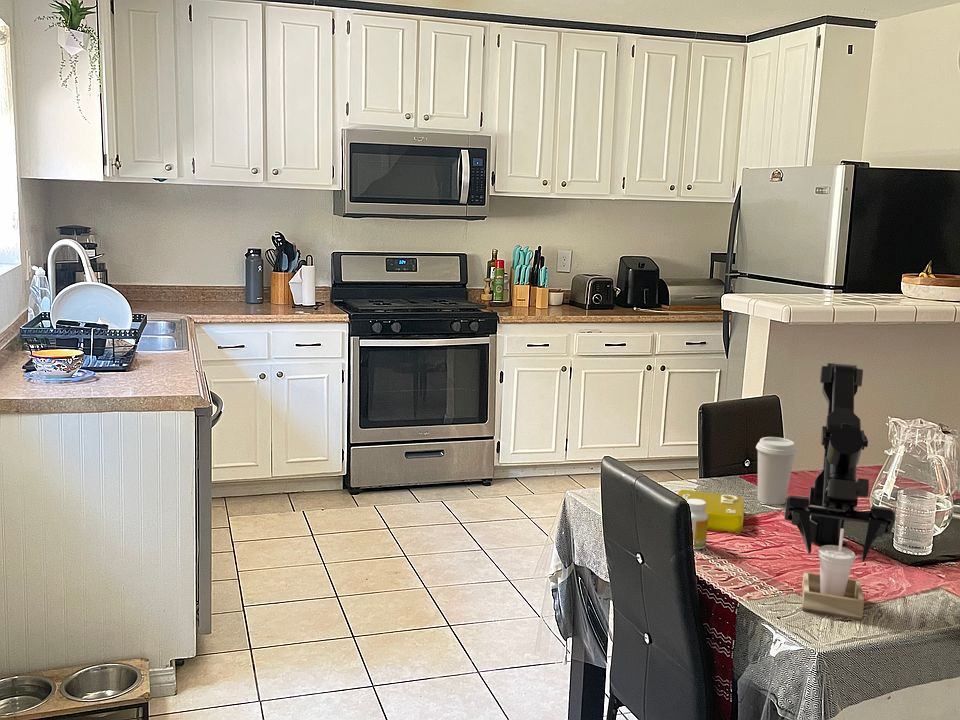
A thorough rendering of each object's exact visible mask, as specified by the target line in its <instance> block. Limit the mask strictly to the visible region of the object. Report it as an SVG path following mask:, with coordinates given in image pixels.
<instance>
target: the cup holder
mask: <svg viewBox="0 0 960 720" xmlns="http://www.w3.org/2000/svg"><path fill="white" fill-rule="evenodd" d="M802 574H803V576H802V585H801V605H802V607H801V609H802V610H801V611H802V612H808V613H816V614H820V615H827V616H833V617H839V618H844V619H845V618H846V619H850V620H851V619H852V620H856V621H863V617H864V616H863V615H864V605H865V599H864V593H863V590H862V581H861V579H856V578H851V577H849V578H848V582H847V586H846V590H845V594H844V597H841V596H835V595H829V594H822V593H821V592H820V573H816V572H811V571H804V570H803V573H802Z"/></svg>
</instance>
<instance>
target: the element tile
mask: <svg viewBox="0 0 960 720" xmlns="http://www.w3.org/2000/svg"><path fill="white" fill-rule="evenodd" d="M677 495H679V496H681V497H683V498H684V499H685V500H686V501H687V500H688V499H700V500H703V501H705V502H706V508H705V510H704V511H706V512H707V514H708V526H707V531H708V530H710V531H715V530H717V532H723V531H728V532H727V533H731V532H740V533H741V531H742V532H743V528H744V527H743V526H744V518H745V516H744V512H745V510H744V509H745V508H744V507H745V505H744V504H745V503H744V501H745V499H744V498H743V497H742V496H739V495H734V494H725V493H716V492H707V491H701V490H700V491H698V490H691V489H680V490H678V492H677Z"/></svg>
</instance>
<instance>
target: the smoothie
mask: <svg viewBox="0 0 960 720" xmlns="http://www.w3.org/2000/svg"><path fill="white" fill-rule="evenodd" d="M844 532H845V529H844V528H843V529H841V532H840V540H839V546H836V545H824V546H819V548H818V550H817V551H818V552H817V555H818V556H819V574H820V592H821V593H822V594H829V595H835V596H841V597H844V594H845V590H846V586H847V582H848V578H850V573H851V571H852V567H853V566H852V565H853V563H854V562H855V561H856V553H855V552H854V551H853V550H851V549H850V548H847V547H846V546H845V547H844V546H843V545H842V543H843V541H844V534H845V533H844Z"/></svg>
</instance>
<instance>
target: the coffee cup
mask: <svg viewBox="0 0 960 720" xmlns="http://www.w3.org/2000/svg"><path fill="white" fill-rule="evenodd" d="M755 449H756V450H757V500H758V501H759V502H761V503H764V504H765V505H772V506H780V505H785V504H786V501H787V497H788V496H787V495H788V490H789V484H790V480H791V474H792V470H793V465H794V464H793V463H794V461H795V460H794V459H795V455H796V454H798V449H797V446H795V442H794V441H793V440H791V439H787V438H783V437H777V436H766V437H761V438H760V439H759V441H758V442H757V444H756V446H755Z"/></svg>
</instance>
